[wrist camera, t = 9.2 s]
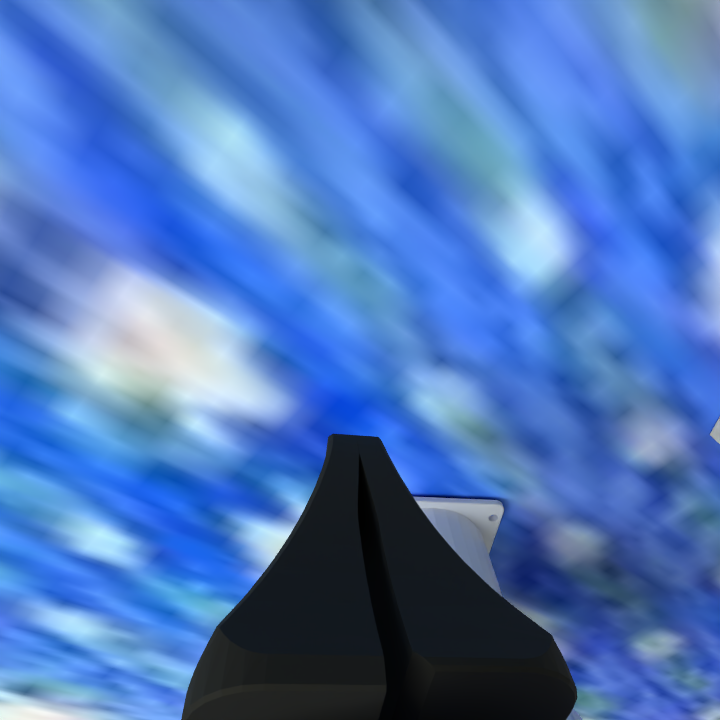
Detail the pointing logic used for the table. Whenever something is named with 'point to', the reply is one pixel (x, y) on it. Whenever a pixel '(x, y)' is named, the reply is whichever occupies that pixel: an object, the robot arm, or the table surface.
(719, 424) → the cream rectangular block
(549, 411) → the table surface
